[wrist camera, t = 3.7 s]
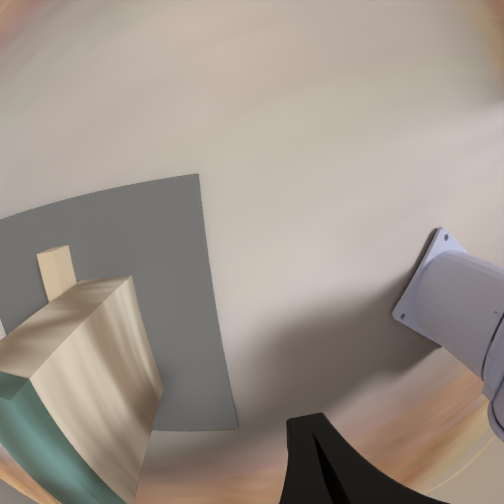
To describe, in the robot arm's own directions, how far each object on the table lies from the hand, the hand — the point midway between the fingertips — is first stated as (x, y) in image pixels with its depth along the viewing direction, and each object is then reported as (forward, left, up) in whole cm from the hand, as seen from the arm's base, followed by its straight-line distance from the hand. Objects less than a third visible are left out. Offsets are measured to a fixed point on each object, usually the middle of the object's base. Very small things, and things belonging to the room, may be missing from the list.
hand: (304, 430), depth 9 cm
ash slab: (+9, +6, -9) cm, 14 cm away
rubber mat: (+12, +8, -9) cm, 17 cm away
